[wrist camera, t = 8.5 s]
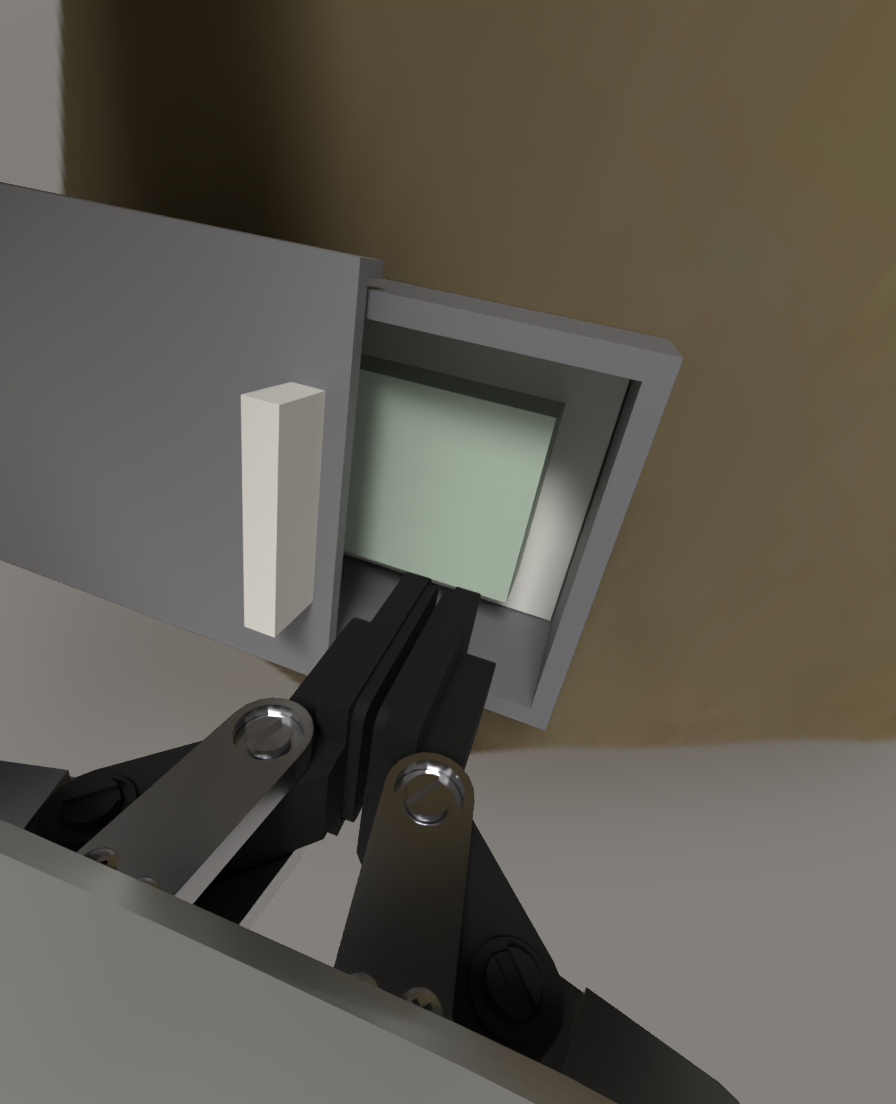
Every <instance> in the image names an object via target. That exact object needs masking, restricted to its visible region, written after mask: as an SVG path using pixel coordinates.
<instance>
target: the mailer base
mask: <svg viewBox="0 0 896 1104" xmlns="http://www.w3.org/2000/svg"><path fill="white" fill-rule="evenodd" d="M682 360H683V357H682V355H681V354H680V353H679V352H678V351H677V349H676V348H675V347H674V346H673V344H672V343H671V342H670V341H669V340H668V339H665V338H660V337H656V336H651V335H646V334H642V333H637V332H632V331H627V330H623V329H618V328H613V327H609V326H604V325H599V324H594V323H590V322H585V321H580V320H576V319H571V318H566V317H561V316H557V315H552V314H547V313H543V312H538V311H533V310H528V309H524V308H519V307H514V306H510V305H505V304H500V303H495V302H491V301H486V300H481V299H477V298H472V297H467V296H462V295H458V294H453V293H448V292H444V291H439V290H434V289H429V288H425V287H420V286H415V285H411V284H406V283H401V282H396V281H392V280H387V279H370V278H368V283H367V295H366V306H365V317H364V328H363V339H362V350H361V361H360V372H359V384H358V395H357V406H356V417H355V428H354V439H353V450H352V462H351V473H350V484H349V495H348V506H347V517H346V528H345V540H344V551H343V562H342V573H341V584H340V595H339V606H338V617H337V629H336V638H337V637H338V636H339V634H340V633H341V632H342V630H343V629H344V628H345V626H346V625H347V624H348V623H349V622H350V620H351V619H352V618H355V617H357V618H360V619H363V620H366V621H369V622H371V621H372V619H373V618H374V616H375V615H376V614H377V612H378V611H379V609H380V608H381V606H382V605H383V604H384V602H385V601H386V599H387V598H388V597H389V595H390V594H391V592H392V591H393V590H394V588H395V587H396V585H397V584H398V582H399V581H400V580H401V578H402V577H403V575H404V574H405V573H406V572H412V573H415V574H418V575H421V576H425V577H428V578H431V580H432V584H431V586H435V587H438V588H439V591H438V597H437V602H436V605H437V603H438V601H439V600H440V598H441V596H442V594H443V592H444V591H445V590H448V591H451V592H453V591H454V589H455V588H456V587H461V588H464V589H467V590H470V591H474V592H477V593H480V594H481V596H480V602H479V606H478V610H477V614H476V618H475V622H474V627H473V631H472V635H471V639H470V643H469V647H468V652H467V654H470V655H473V656H477V657H480V658H483V659H486V660H489V661H492V662H495V663H496V667H495V671H494V674H493V678H492V682H491V685H490V689H489V692H488V696H487V699H486V702H485V706H484V709H487V710H490V711H493V712H495V713H498V714H501V715H504V716H506V717H509V718H512V719H515V720H517V721H520V722H523V723H526V724H528V725H531V726H534V727H537V728H539V729H542V730H546V727H547V724H548V722H549V719H550V716H551V714H552V711H553V708H554V705H555V703H556V700H557V697H558V695H559V692H560V689H561V687H562V684H563V681H564V679H565V676H566V673H567V670H568V668H569V665H570V662H571V660H572V657H573V654H574V652H575V649H576V646H577V643H578V641H579V638H580V635H581V633H582V630H583V627H584V625H585V622H586V619H587V616H588V614H589V611H590V608H591V606H592V603H593V600H594V598H595V595H596V592H597V590H598V587H599V584H600V581H601V579H602V576H603V573H604V571H605V568H606V565H607V563H608V560H609V557H610V554H611V552H612V549H613V546H614V544H615V541H616V538H617V536H618V533H619V530H620V528H621V525H622V522H623V519H624V517H625V514H626V511H627V509H628V506H629V503H630V501H631V498H632V495H633V492H634V490H635V487H636V484H637V482H638V479H639V476H640V474H641V471H642V468H643V466H644V463H645V460H646V457H647V455H648V452H649V449H650V447H651V444H652V441H653V439H654V436H655V433H656V430H657V428H658V425H659V422H660V420H661V417H662V414H663V412H664V409H665V406H666V404H667V401H668V398H669V395H670V393H671V390H672V387H673V385H674V382H675V379H676V377H677V374H678V371H679V368H680V366H681V363H682Z"/></svg>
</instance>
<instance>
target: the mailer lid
mask: <svg viewBox="0 0 896 1104" xmlns="http://www.w3.org/2000/svg"><path fill="white" fill-rule="evenodd" d="M383 266H384V261H383V260H378V259H373V258H368V257H363V256H358V255H353V254H348V253H344V252H339V251H334V250H329V249H324V248H319V247H314V246H309V245H305V244H300V243H295V242H290V241H285V240H280V239H275V238H270V237H266V236H261V235H256V234H251V233H246V232H241V231H236V230H231V229H227V228H222V227H217V226H212V225H207V224H202V223H197V222H192V221H188V220H183V219H178V218H173V217H168V216H163V215H158V214H153V213H149V212H144V211H139V210H134V209H129V208H124V207H119V206H114V205H110V204H105V203H100V202H95V201H90V200H85V199H80V198H75V197H71V196H66V195H61V194H56V193H51V192H46V191H41V190H36V189H32V188H27V187H22V186H17V185H12V184H7V183H2V182H0V560H2V561H5V562H7V563H10V564H13V565H16V566H18V567H21V568H23V569H26V570H29V571H31V572H34V573H37V574H39V575H42V576H45V577H47V578H50V579H52V580H55V581H58V582H61V583H63V584H66V585H69V586H71V587H74V588H77V589H79V590H82V591H84V592H87V593H90V594H92V595H95V596H98V597H100V598H103V599H106V600H108V601H111V602H113V603H116V604H119V605H121V606H124V607H127V608H129V609H132V610H135V611H138V612H141V613H143V614H145V615H148V616H151V617H153V618H156V619H159V620H161V621H164V622H167V623H169V624H172V625H175V626H177V627H180V628H183V629H185V630H188V631H190V632H193V633H196V634H198V635H201V636H204V637H207V638H209V639H212V640H214V641H217V642H220V643H222V644H225V645H228V646H230V647H233V648H236V649H238V650H241V651H244V652H246V653H249V654H251V655H254V656H257V657H259V658H262V659H265V660H267V661H270V662H273V663H275V664H278V665H281V666H283V667H286V668H289V669H291V670H294V671H297V672H299V673H302V674H305V675H307V676H308V675H309V673H310V672H311V671H312V669H313V668H314V667H315V665H316V664H317V663H318V662H319V660H320V659H321V658H322V656H323V655H324V654H325V652H326V651H327V650H328V649H329V647H330V646H331V645H332V643H333V642H334V641H335V639H336V629H337V617H338V606H339V595H340V584H341V573H342V562H343V551H344V540H345V528H346V517H347V506H348V495H349V484H350V473H351V462H352V450H353V439H354V428H355V417H356V406H357V395H358V384H359V372H360V361H361V350H362V339H363V328H364V317H365V306H366V295H367V283H368V278H370V279H382V276H383Z"/></svg>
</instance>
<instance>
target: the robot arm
mask: <svg viewBox="0 0 896 1104" xmlns="http://www.w3.org/2000/svg"><path fill="white" fill-rule="evenodd" d="M431 584H432V580H431V578H428V577H425V576H421V575H418V574H415V573H412V572H406V573H405V574H404V575H403V577H402V578H401V580H400V581H399V582H398V584H397V585H396V587H395V588H394V590H393V591H392V592H391V594H390V595H389V597H388V598H387V599H386V601H385V602H384V604H383V605H382V606H381V608H380V609H379V611H378V612H377V614H376V615H375V616H374V618H373V619H372V621H371V622H369V621H366V620H363V619H360V618H357V617H355V618H352V619H351V620H350V622H349V623H348V624H347V625H346V626H345V628H344V629H343V630H342V632H341V633H340V634H339V636H338V637H337V638H336V639H335V641H334V642H333V643H332V645H331V646H330V647H329V649H328V650H327V651H326V652H325V654H324V655H323V656H322V658H321V659H320V660H319V662H318V663H317V664H316V665H315V667H314V668H313V669H312V671H311V672H310V673H309V675H308V676H307V677H306V678H305V680H304V681H303V682H302V684H301V685H300V686H299V688H298V689H297V690H296V691H295V693H294V695H293V696H292V697H291V698H290V699H289V700H288V699H283V698H267V699H260V700H257V701H254V702H252V703H249V704H246V705H245V706H244V707H242V708H240V709H239V710H237V711H236V712H235V713H234V714H232V715H231V716H230V717H229V718H228V719H227V720H226V721H225V722H223V723H222V724H221V725H220V726H219V727H218V728H217V729H215V730H214V731H213V732H212V733H211V734H210V735H209V736H208V737H206V738H205V739H204V740H203V741H200V742H196V743H192V744H189V745H185V746H181V747H178V748H174V749H171V750H167V751H163V752H160V753H156V754H152V755H148V756H145V757H141V758H138V759H134V760H131V761H127V762H123V763H119V764H116V765H112V766H108V767H105V768H101V769H97V770H94V771H91V772H89V773H86V774H83V775H81V776H78V777H71V776H70V774H69V771H68V770H65V769H57V768H50V767H43V766H36V765H29V764H22V763H15V762H7V761H0V1104H740V1103H739V1101H738V1100H737V1099H736V1098H735V1097H734V1096H733V1095H732V1094H731V1093H730V1092H729V1091H727V1089H726V1088H725V1087H723V1086H722V1085H721V1084H720V1083H719V1082H718V1081H717V1080H715V1079H714V1078H712V1077H711V1076H710V1075H708V1074H707V1073H706V1072H704V1071H703V1070H701V1069H700V1068H698V1067H697V1066H696V1065H694V1064H693V1063H692V1062H690V1061H689V1060H687V1059H686V1058H685V1057H683V1056H682V1055H680V1054H679V1053H678V1052H676V1051H675V1050H673V1049H672V1048H671V1047H669V1046H668V1045H667V1044H665V1043H664V1042H662V1041H661V1040H660V1039H658V1038H657V1037H655V1036H654V1035H653V1034H651V1033H650V1032H649V1031H647V1030H646V1029H644V1028H643V1027H642V1026H640V1025H639V1024H637V1023H636V1022H635V1021H633V1020H632V1019H630V1018H629V1017H628V1016H626V1015H625V1014H623V1013H622V1012H621V1011H619V1010H618V1009H617V1008H615V1007H614V1006H612V1005H611V1004H609V1003H608V1002H607V1001H605V1000H604V999H603V998H601V997H600V996H598V995H597V994H595V993H594V992H593V991H591V990H590V989H588V988H587V987H586V988H585V990H584V991H583V992H582V991H581V990H579V989H578V988H576V987H575V986H574V985H573V984H571V983H570V982H568V981H567V980H566V979H564V978H563V977H561V976H560V975H559V974H558V971H557V969H556V967H555V964H554V962H553V960H552V958H551V956H550V955H549V953H548V951H547V949H546V947H545V946H544V944H543V942H542V940H541V939H540V937H539V935H538V933H537V932H536V930H535V928H534V927H533V925H532V923H531V921H530V919H529V918H528V916H527V914H526V912H525V911H524V909H523V907H522V905H521V904H520V902H519V900H518V898H517V897H516V895H515V893H514V891H513V890H512V888H511V886H510V884H509V883H508V881H507V879H506V877H505V876H504V874H503V873H502V870H501V869H500V867H499V865H498V863H497V861H496V860H495V858H494V856H493V855H492V853H491V851H490V849H489V847H488V846H487V844H486V842H485V840H484V839H483V837H482V835H481V834H480V832H479V830H478V828H477V827H476V825H475V823H474V821H473V810H474V788H473V786H472V783H471V781H470V779H469V776H468V775H467V774H466V773H465V771H464V770H465V767H466V763H467V760H468V757H469V754H470V751H471V748H472V744H473V741H474V738H475V735H476V732H477V729H478V725H479V722H480V719H481V716H482V712H483V709H484V706H485V702H486V699H487V696H488V692H489V689H490V685H491V682H492V678H493V674H494V671H495V667H496V663H495V662H492V661H489V660H486V659H483V658H480V657H477V656H473V655H470V654H467V652H468V647H469V643H470V639H471V635H472V631H473V627H474V622H475V618H476V614H477V610H478V606H479V602H480V596H481V594H480V593H477V592H474V591H470V590H467V589H464V588H461V587H456V588H455V589H454V591H453V592H451V591H448V590H445V591H444V592H443V594H442V596H441V598H440V600H439V601H438V603H437V605H436V602H437V597H438V591H439V588H438V587H435V586H431ZM362 806H363V807H362ZM361 808H362V814H361V823H360V830H359V838H358V846H357V854H358V857H359V860H360V862H361V865H362V866H361V870H360V873H359V877H358V881H357V884H356V888H355V892H354V895H353V899H352V902H351V906H350V910H349V913H348V917H347V920H346V924H345V928H344V931H343V935H342V939H341V942H340V946H339V949H338V953H337V957H336V960H335V964H334V967H331V966H329V965H326V964H324V963H322V962H320V961H318V960H315V959H313V958H311V957H309V956H307V955H304V954H302V953H300V952H298V951H296V950H293V949H291V948H289V947H287V946H284V945H282V944H280V943H278V942H276V941H273V940H271V939H269V938H267V937H264V936H262V935H260V934H258V933H255V932H253V931H251V930H250V928H251V927H252V925H253V924H254V923H255V921H256V920H257V919H258V917H259V916H260V915H261V913H262V912H263V910H264V909H265V908H266V906H267V905H268V904H269V902H270V901H271V899H272V898H273V897H274V895H275V894H276V892H277V891H278V890H279V888H280V887H281V886H282V884H283V883H284V882H285V880H286V879H287V877H288V876H289V875H290V873H291V872H292V871H293V869H294V868H295V866H296V865H297V864H298V862H299V861H300V860H301V858H302V856H303V854H304V852H305V851H306V849H307V845H309V844H312V843H314V842H317V841H319V840H322V839H324V837H325V835H326V834H327V832H329V833H331V834H334V835H336V836H337V835H338V833H339V831H340V829H341V827H342V825H343V823H344V821H345V819H346V820H349V821H351V822H354V821H355V820H356V818H357V816H358V814H359V812H360V810H361Z"/></svg>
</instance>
